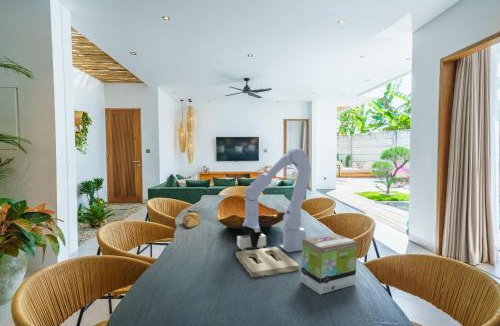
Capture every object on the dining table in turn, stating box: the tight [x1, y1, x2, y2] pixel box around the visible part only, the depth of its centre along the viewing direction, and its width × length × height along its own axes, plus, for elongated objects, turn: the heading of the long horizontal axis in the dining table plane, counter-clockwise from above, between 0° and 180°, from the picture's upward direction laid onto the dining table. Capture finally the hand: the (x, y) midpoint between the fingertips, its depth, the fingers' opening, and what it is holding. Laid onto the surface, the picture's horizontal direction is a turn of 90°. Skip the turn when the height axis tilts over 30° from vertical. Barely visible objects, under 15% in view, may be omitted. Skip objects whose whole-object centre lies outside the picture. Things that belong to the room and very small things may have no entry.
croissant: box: [181, 211, 201, 228], centre depth 165 cm, size 21×10×8 cm, turn 6°
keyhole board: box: [235, 246, 300, 278], centre depth 109 cm, size 18×20×2 cm
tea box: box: [300, 233, 358, 296], centre depth 92 cm, size 15×10×15 cm, turn 117°
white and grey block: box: [236, 233, 267, 251], centre depth 124 cm, size 12×4×6 cm, turn 110°
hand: (251, 243), depth 124 cm, fingers open, 6 cm apart
